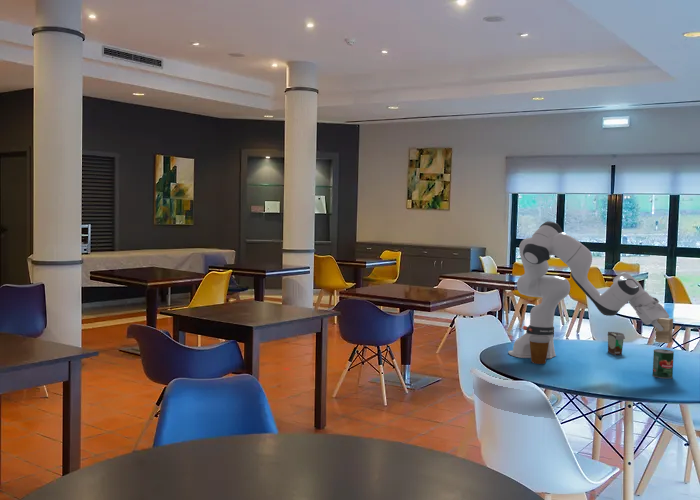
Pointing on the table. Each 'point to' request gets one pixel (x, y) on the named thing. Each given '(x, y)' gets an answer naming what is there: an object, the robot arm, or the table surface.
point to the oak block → (665, 330)
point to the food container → (615, 343)
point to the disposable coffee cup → (539, 348)
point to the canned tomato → (663, 363)
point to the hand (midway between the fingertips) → (665, 329)
